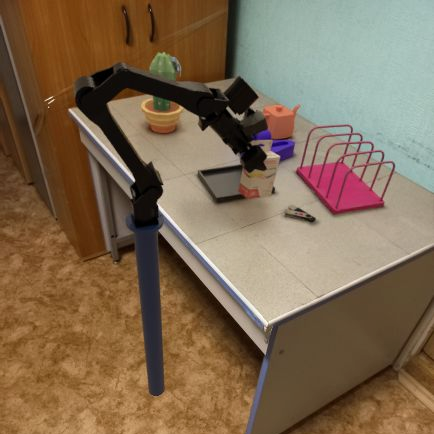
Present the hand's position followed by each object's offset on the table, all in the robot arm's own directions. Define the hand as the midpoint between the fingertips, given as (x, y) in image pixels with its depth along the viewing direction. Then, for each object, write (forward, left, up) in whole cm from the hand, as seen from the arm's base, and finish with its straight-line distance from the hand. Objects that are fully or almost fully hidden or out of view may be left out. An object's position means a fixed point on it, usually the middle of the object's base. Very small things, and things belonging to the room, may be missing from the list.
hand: (261, 164), depth 115 cm
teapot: (+29, +41, -13) cm, 52 cm away
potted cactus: (-11, +56, -13) cm, 59 cm away
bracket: (+18, +25, -13) cm, 33 cm away
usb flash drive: (+10, -9, -13) cm, 19 cm away
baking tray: (-1, +12, -13) cm, 18 cm away
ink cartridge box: (-1, -1, -9) cm, 9 cm away
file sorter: (+30, +1, -13) cm, 32 cm away
